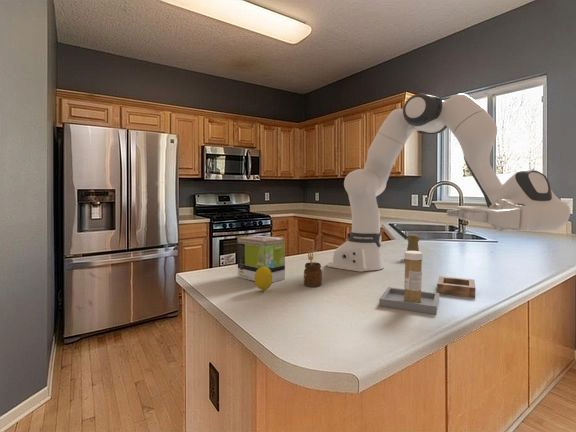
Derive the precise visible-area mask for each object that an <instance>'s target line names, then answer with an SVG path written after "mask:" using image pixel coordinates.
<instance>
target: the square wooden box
mask: <svg viewBox="0 0 576 432" xmlns="http://www.w3.org/2000/svg"><path fill="white" fill-rule="evenodd" d="M436 293H439V294H443V295H451V296H459V297H468V298H476V282H475V279H472V278H463V277H451V276H443V275H441V276H440V275H439V276H438V279H437V283H436Z"/></svg>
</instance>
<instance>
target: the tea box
mask: <svg viewBox="0 0 576 432" xmlns="http://www.w3.org/2000/svg"><path fill="white" fill-rule="evenodd" d="M236 240H237V241H236V242H237V277H238V278H240V279H245V280H249V281H254V282H255V273H256V271H257V269H259V268H260V267H262V266H265V267H267V268H268V269H270V271H271V273H272V283H275V282H279V281H282V280H285V279H286V254H285V253H286V252H285V250H286V248H285V247H286V245H285V244H286V243H285V238H284V237H277V236H276V237H275V236H267V235H266V236H265V235H250V236H248V235H247V236H241V237H237V239H236Z"/></svg>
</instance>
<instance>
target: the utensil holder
mask: <svg viewBox="0 0 576 432" xmlns="http://www.w3.org/2000/svg"><path fill="white" fill-rule="evenodd" d="M318 255H319V253H318V251H317V250H315V251H313V250H307V257H308V258H307V259H308V260H309V262H306V263H305V264H304V270H303V284H304V286H306V287H310V288H317V287H320V286H321V285H322V284H323V271H322V269H321V267H322V265H321V263H319V262H318V259H319V257H318ZM314 259H316V261H314Z"/></svg>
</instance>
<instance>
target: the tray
mask: <svg viewBox="0 0 576 432" xmlns="http://www.w3.org/2000/svg"><path fill="white" fill-rule="evenodd" d="M404 294H405V288H400V287H398V288H397V287H390V286H389V287H387V288H386V289H385V291H384V292H383V293H382V295H381V296H380V297H379V299H378V305H379V307H385V308H389V309H390V308H391V309H396V310H397V309H398V310H404V311H411V312H416V313H417V312H418V313H424V314H429V315H431V314H432V315H437V312H438V307H439V303H440V293H437V292H434V291H433V292H431V291H423V290H421V302H417V303H416V302H409V301H405V300H404Z"/></svg>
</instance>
